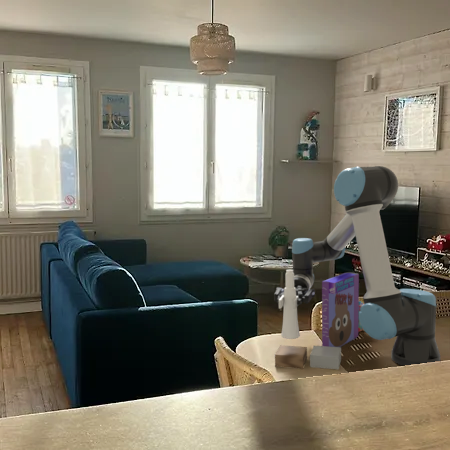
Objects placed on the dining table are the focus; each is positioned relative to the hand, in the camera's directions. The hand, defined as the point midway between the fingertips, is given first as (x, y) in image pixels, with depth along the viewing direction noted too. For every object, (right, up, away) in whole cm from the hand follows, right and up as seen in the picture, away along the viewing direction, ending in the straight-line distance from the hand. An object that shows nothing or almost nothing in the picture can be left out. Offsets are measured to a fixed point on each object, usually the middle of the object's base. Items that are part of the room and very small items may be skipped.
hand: (286, 304), depth 177 cm
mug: (+30, -15, +39) cm, 51 cm away
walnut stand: (+2, -20, +7) cm, 21 cm away
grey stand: (+13, -20, +6) cm, 25 cm away
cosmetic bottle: (+2, -11, +7) cm, 13 cm away
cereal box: (+22, -17, +25) cm, 38 cm away
